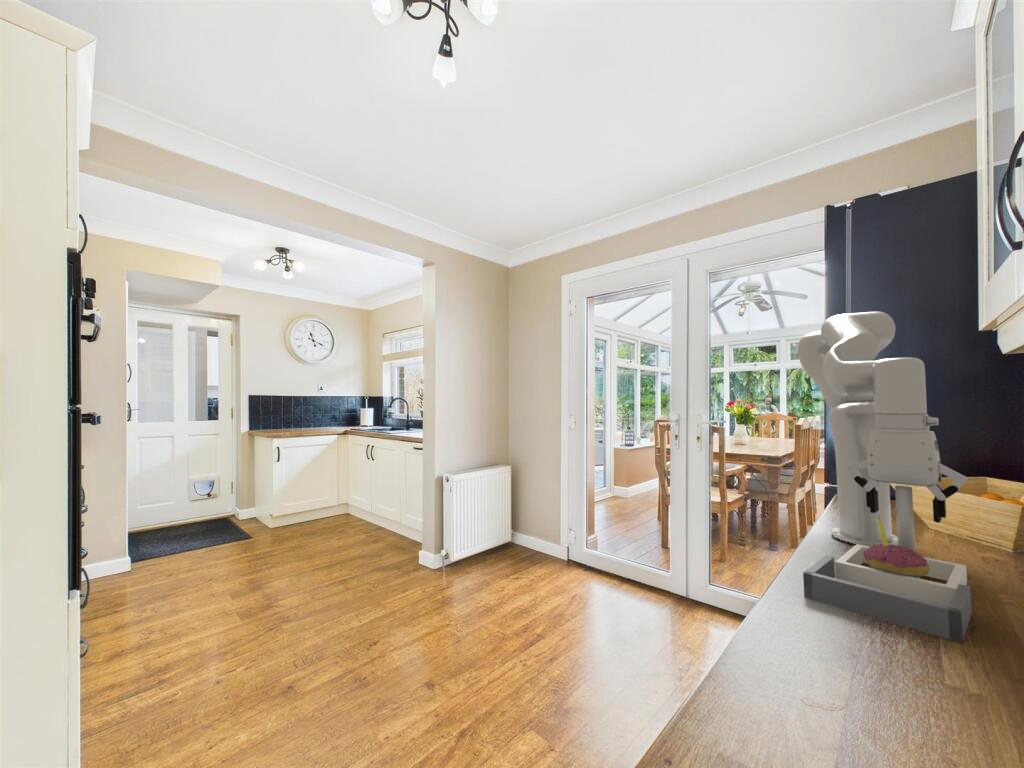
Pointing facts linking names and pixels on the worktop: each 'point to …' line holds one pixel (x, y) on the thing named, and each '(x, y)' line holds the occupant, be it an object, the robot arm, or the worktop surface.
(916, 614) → the holder bay
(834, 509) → the worktop surface
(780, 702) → the worktop surface
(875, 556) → the pink frosted cake
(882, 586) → the collar
